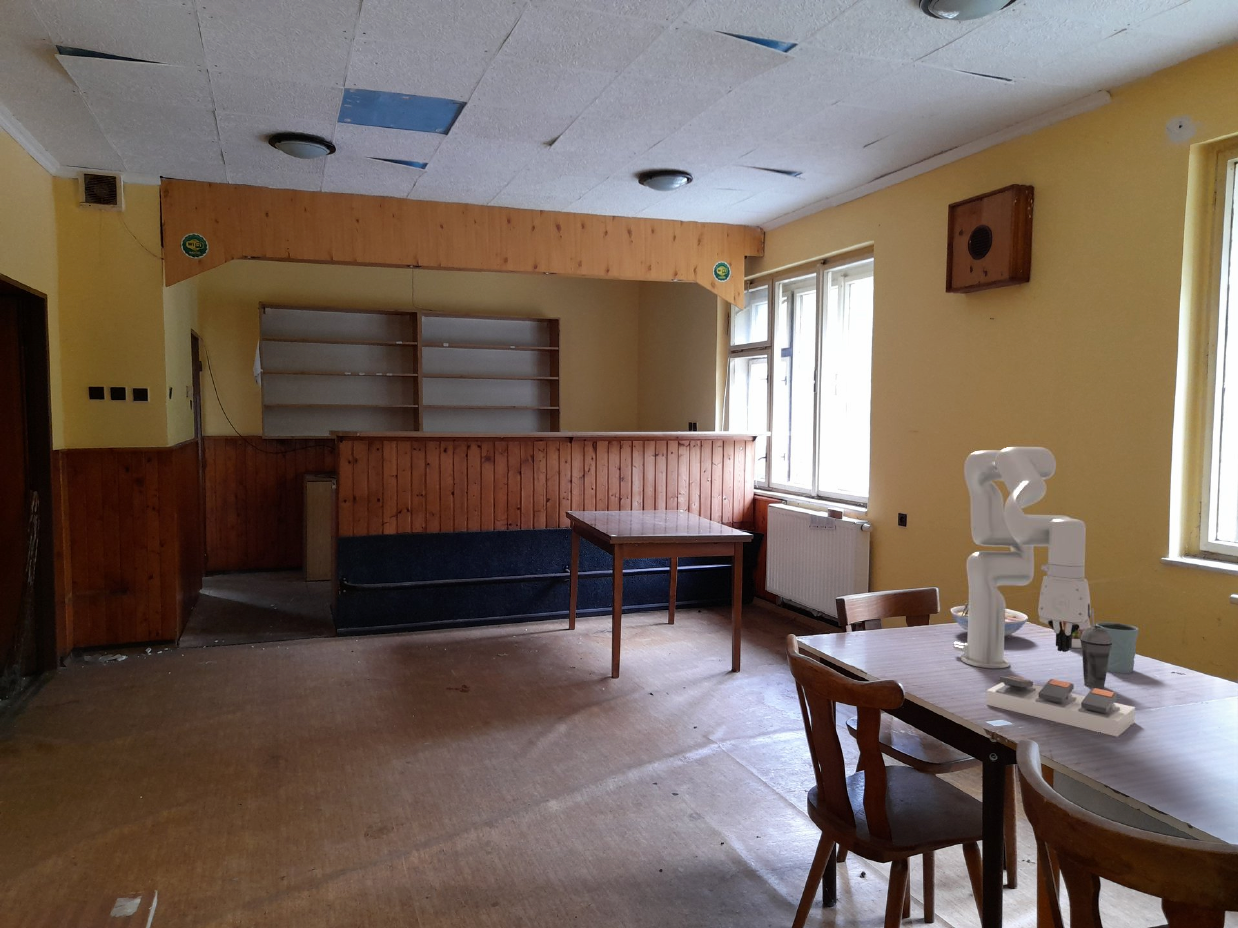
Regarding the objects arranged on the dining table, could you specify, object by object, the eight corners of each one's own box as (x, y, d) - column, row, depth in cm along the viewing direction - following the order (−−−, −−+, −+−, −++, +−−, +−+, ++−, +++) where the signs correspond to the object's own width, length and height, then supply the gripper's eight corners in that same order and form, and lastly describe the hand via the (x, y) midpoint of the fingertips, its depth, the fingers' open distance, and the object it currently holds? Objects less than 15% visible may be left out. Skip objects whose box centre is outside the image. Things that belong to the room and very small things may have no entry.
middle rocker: (1038, 700, 194) (1038, 692, 194) (1050, 686, 200) (1050, 678, 199) (1062, 706, 191) (1061, 697, 190) (1073, 691, 196) (1073, 683, 196)
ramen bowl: (1024, 650, 253) (1025, 622, 252) (943, 639, 264) (944, 613, 264) (1029, 632, 275) (1030, 607, 274) (955, 623, 286) (955, 599, 285)
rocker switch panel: (986, 704, 202) (986, 688, 202) (1007, 692, 211) (1007, 677, 211) (1117, 736, 182) (1118, 718, 182) (1134, 722, 191) (1135, 705, 191)
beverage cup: (1114, 690, 214) (1118, 613, 213) (1083, 688, 216) (1086, 611, 215) (1104, 682, 221) (1107, 607, 220) (1074, 680, 223) (1077, 605, 222)
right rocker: (1081, 710, 188) (1081, 701, 187) (1092, 695, 193) (1092, 687, 193) (1106, 716, 184) (1106, 707, 184) (1117, 701, 190) (1117, 692, 189)
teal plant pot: (1097, 671, 232) (1098, 627, 231) (1091, 661, 241) (1093, 620, 241) (1139, 675, 228) (1141, 631, 227) (1132, 665, 237) (1134, 623, 237)
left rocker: (998, 684, 200) (999, 675, 200) (1010, 685, 206) (1011, 676, 206) (1020, 689, 197) (1021, 680, 197) (1032, 689, 202) (1033, 680, 202)
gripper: (1026, 569, 198) (1023, 647, 199) (1096, 577, 188) (1093, 659, 188) (1037, 566, 204) (1035, 642, 204) (1106, 574, 193) (1104, 653, 193)
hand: (1063, 650), depth 196 cm, fingers closed
